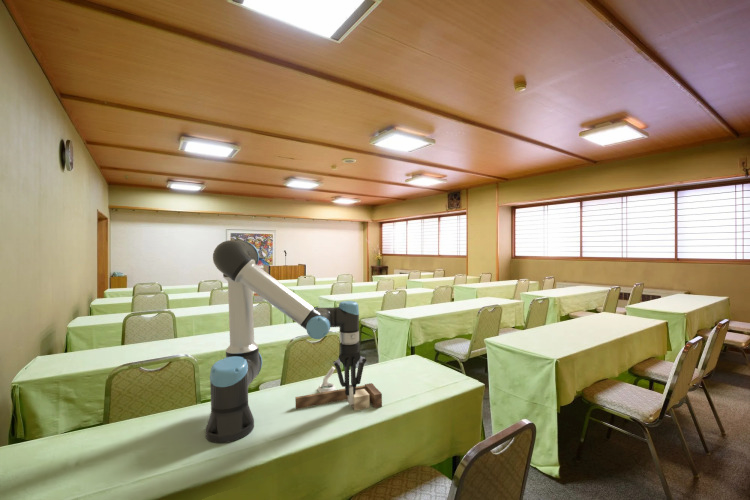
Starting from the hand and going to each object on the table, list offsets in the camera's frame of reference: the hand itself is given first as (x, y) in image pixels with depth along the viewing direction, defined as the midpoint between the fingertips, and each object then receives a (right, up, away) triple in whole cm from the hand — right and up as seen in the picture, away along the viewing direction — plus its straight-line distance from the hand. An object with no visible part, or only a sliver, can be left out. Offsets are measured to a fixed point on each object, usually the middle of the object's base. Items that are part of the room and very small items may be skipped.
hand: (350, 402), depth 131 cm
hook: (-12, -2, +17) cm, 21 cm away
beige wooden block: (+4, -2, +1) cm, 4 cm away
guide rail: (-4, -2, +1) cm, 5 cm away
